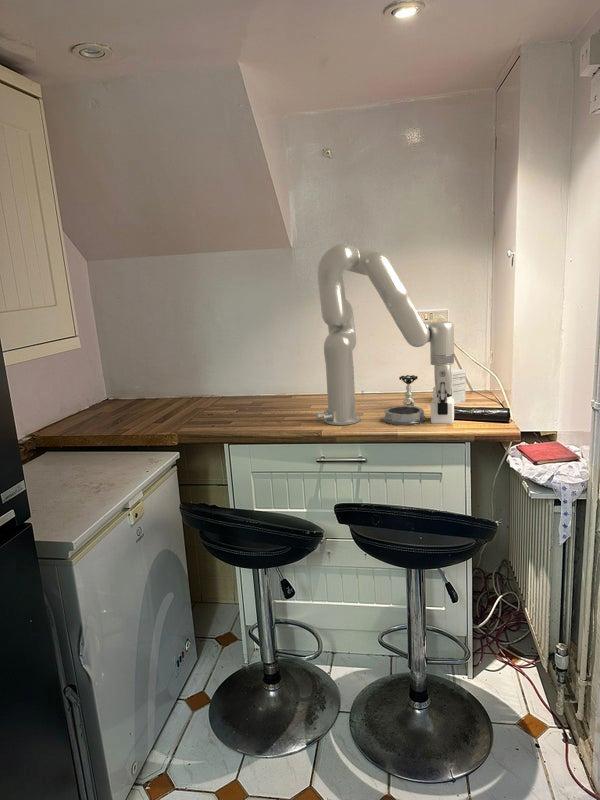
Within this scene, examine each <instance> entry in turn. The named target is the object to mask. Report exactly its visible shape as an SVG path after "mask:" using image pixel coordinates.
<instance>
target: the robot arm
mask: <svg viewBox="0 0 600 800" xmlns="http://www.w3.org/2000/svg"><path fill="white" fill-rule="evenodd" d="M345 271H348V272H352V273H355V274H359V275H364V276H367V278H368V279H369V280H370V282H371V284H372V285H373V287H374V288H375V290H376V291H377V293H378V295H379V297H380V299H381V300H382V302H383V304H384V305H385V307H386V309H387V311H388V313H389V314H390V315H391V317H392V319H393V321H394V323H395V325H396V326H397V328H398V330H399V331H400V333H401V335H402V336H403V337H404V339H405V340H406V342H407V343H408V345H410V346H411V347H413V348H421V347H423V346H425V345H426V344H427V343H429V344H430V345H429V347H430V348H429V349H430V352H429V353H430V355H429V356H430V357H429V358H430V365H432V366H433V367H434V371H433V373H434V374H433V375H434V387H435V388H436V394H437V395H438V415H447V414H448V403H447V394H449V395H451V368H452V365H454V364H455V326H454V323H453V322H452V321H449V320H447V321H445V320H444V321H443V320H442V321H441V320H439V321H434V322H431V321H430V322H429V321H423V320H422V318H421V316H420V315H419V313H418V312H417V310H416V308H415V306H414V304H413V301H412V299H411V296H410V293H409V290H408V288H407V287H406V285H405V284H404V282H403V280H402V278H401V277H400V275H399V273H398V272H397V271H396V269H395V267H394V265H393V264H392V261H391V258H390V257H389V256H388V254H386V253H384V252H380V251H375V250H370V249H366V248H363V247H359V246H356V245H352V244H349V243H339V244H335V245H333V246H332V247H329V249H328V250H326V252H324V254H323V255H322V256H321V258H320V261H319V263H318V266H317V282H318V291H319V292H318V293H319V301H320V310H321V318H322V320H323V322H324V324H326V325H327V329H328V335H327V336H326V338H325V340H324V342H323V355H324V361H325V362H324V363H325V374H326V377H325V378H326V388H327V389H326V393H327V408H325V411H323V412H318V413H315V419H317V420H321V419H323V421H324V423H325V424H327V425H333V426H347V425H353V424H357V423H358V422H360V421H361V416H360V414H359V415H358V414H356V396H355V395H356V393H355V392H356V391H355V370H354V368H355V367H354V357H353V356H354V355H353V351H354V349H355V348H356V346H357V345H356V344H357V335H356V333H357V332H356V325H355V318H354V311H353V306H352V304H351V303H350V302H349V301H348V299H347V298H346V292H345V291H346V290H345V283H344V278H343V276H344V272H345ZM440 385H441V387H440ZM444 385H445V387H444ZM439 389H440V392H441V393H439ZM445 392H446V393H445Z"/></svg>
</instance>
